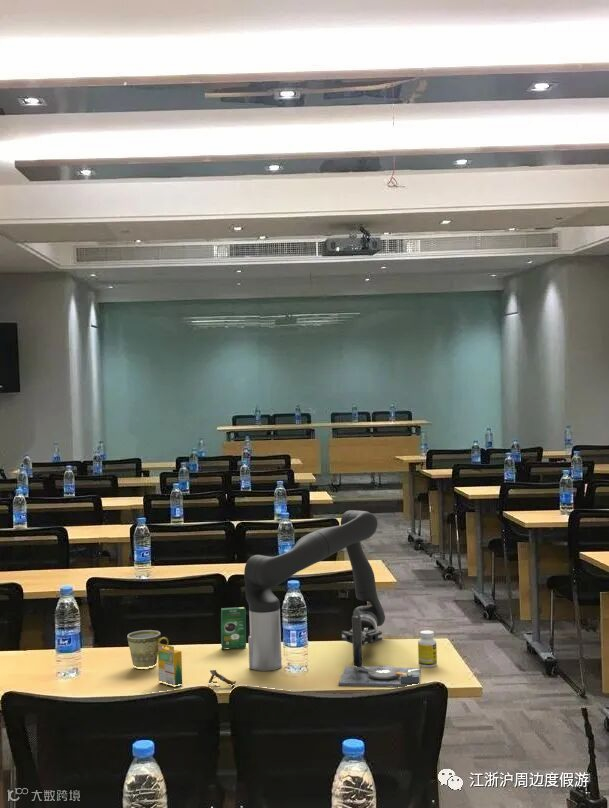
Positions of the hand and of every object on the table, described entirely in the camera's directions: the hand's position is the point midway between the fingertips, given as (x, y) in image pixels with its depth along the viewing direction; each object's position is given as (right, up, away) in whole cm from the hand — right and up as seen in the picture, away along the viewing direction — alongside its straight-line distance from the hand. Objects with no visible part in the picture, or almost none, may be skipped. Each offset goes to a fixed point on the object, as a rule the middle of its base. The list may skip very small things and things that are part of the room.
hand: (359, 643), depth 253 cm
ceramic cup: (-64, -10, +7) cm, 65 cm away
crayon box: (-54, -9, -11) cm, 56 cm away
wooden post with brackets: (-39, -9, -14) cm, 43 cm away
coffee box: (-39, -9, +25) cm, 48 cm away
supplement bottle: (+20, -7, -1) cm, 21 cm away
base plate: (+5, -7, -11) cm, 14 cm away
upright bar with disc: (+5, -6, -11) cm, 13 cm away
